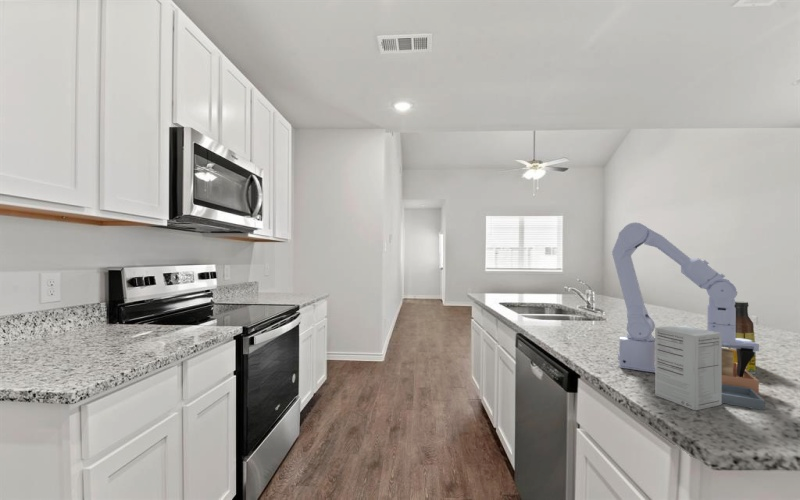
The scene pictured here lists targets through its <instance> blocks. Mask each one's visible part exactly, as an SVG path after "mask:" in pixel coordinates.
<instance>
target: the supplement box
mask: <svg viewBox="0 0 800 500" xmlns="http://www.w3.org/2000/svg"><path fill="white" fill-rule="evenodd" d="M654 338H655V373H654V378H655V379H654V381H655V382H654V383H655V384H654V386H655V387H654V388H655V389H654V390H655V391H654V392H655V393H654V394H655V396H657V397H658V398H662V399H664V400H667V401H670V402H671V403H675V404H677V405H679V406H683V407H684V408H688V409H691V410H692V411H695V412H697V411H700V410H704V409H709V408H712V407H713V408H714V407H718V406H722V404H723V403H722V348H723V347H722V333H719V332H714V331H709V330H707V329H703V328H697V327H692V326H688V325H682V324H681V325H680V324H679V325H670V326H668V325H667V326H661V327H660V326H659V327H655V328H654Z"/></svg>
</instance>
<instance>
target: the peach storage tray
mask: <svg viewBox="0 0 800 500" xmlns="http://www.w3.org/2000/svg"><path fill="white" fill-rule="evenodd" d="M722 384H726V385H733V386H739V387H746V388H752V389H753V390H754V391H755V392H756V393H757V394H758V395H759V394H760V392H759V391H760V389H759V388H760V387H759V385H760V380H759V379H757V378H756V377H755V375H754V374H750V373H749V372H748V371H747V370H746V369H745V371H744V374H743V377H739V376H738V375H737V363H736V362H733V376H727V375H722ZM759 396H760V395H759Z"/></svg>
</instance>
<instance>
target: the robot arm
mask: <svg viewBox="0 0 800 500" xmlns="http://www.w3.org/2000/svg"><path fill="white" fill-rule="evenodd" d="M643 244H644V245H646V246H650V247H654V248H656V249H657V250H659V251H661V252H662V253H664V255H666V256H668V257H669V258H670V259H671V260H673V261H674V262H675V263H677V264H678V265H679V266H680V273H681V274H683V276H685V277H686V278H687V279H689V280H690V281H691V282H692V283H693V284H695V285H696V286H698V287H699V288H700V289H704V290H706V293H707V295H708V305H707V323H706V324H707V326H706V327H707V328H706V330H709V331H714V332H719V333H722V348H727V349H728V348H737V349H736V351H737V375H738V376H739V377H743V374H744V371H745V369H746V366H747V365H748V363H749V361H750V360H751V359H752V358H753V357H754V352H753V351H756V352H759V351H760V344H759V343H758V342H757V341H755V342H748V341H741V340H736V308H735V307H734V305H735V301H736V300H735V298H736V297H737V296H738V291H737V288H736V286H735V285H734V284H733V283H732V282H731V281H730V280H729V279H726V278H725V277H726V275H725V274H724V273H719V272H718V271H716V270H715V269H714V268H712V267H711V266H709V264H710V263H709V262H708V261H707V260H706V259H703V260H702V259H701V258H695V257H694V258H691V257H689V256H688V255H687V254H686V253H684V252H683V251H682V250H680V249H679V248H678V247H677V246H676V245H675V244H673V243H672V242H671V241H669V240H668V239H667V238H666V237H665V236H663V235H662V234H660V233H658V232H656V231H654V230H652V228H651V229H650V228H649V227H648V226H646V225H644V224H643V223H640V222H631V223H630V222H629V223H628V224H626V225H625V226H624V227H623V228H622V229H621V230H620V231H619V232H618V236H617V239H616V242H615V243H614V246H613V249H612V252H611V253H612V258H613V262H614V265H615V269H616V273H617V278H618V280H619V284H620V288H621V292H622V296H623V299H624V300H623V301H624V304H625V307H626V318H627V324H626V331H627V334H626V336H618V338H619V339H618V342H619V343H618V346H619V347H618V354H617V360H618V362H619V363H618V364H619V368H621V369H626V370H627V369H628V370H634V371H642V372H649V373H654V374H655V336H653V334H652V333H653V331H655V328H656V325H655V324H656V323H655V322H654V320H653V319H652V318H651V317H650V314H649V313H648V309H647V307H646V306H645V303H644V298H643V294H642V292H641V287H640V284H639V280H638V276H637V273H636V270H635V269H636V268H635V265H634V261H633V258H632V255H633V254H634V253H635V252H636V250H637V249H638V248H639V247H640V246H641V245H643ZM730 345H731V346H730Z"/></svg>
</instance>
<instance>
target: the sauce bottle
mask: <svg viewBox="0 0 800 500" xmlns="http://www.w3.org/2000/svg"><path fill="white" fill-rule="evenodd" d="M734 307H735V308H736V338H742V339H748V340H752V342H756V339H755V337H756V336H755V329H754V322H753V321H752V319H751V318H750V316H749V314H748V313H749V312H748V311H749V310H748V308H749V302H748V301H741V300H735V305H734ZM730 346H731V345H730ZM727 349H730V350H731V348H728V347H727Z"/></svg>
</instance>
